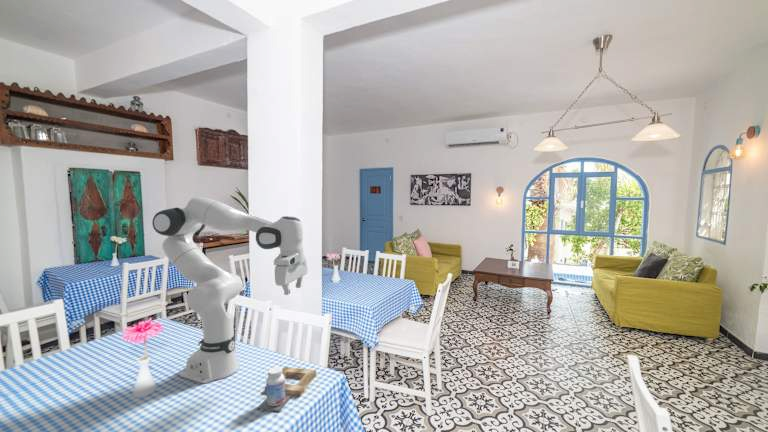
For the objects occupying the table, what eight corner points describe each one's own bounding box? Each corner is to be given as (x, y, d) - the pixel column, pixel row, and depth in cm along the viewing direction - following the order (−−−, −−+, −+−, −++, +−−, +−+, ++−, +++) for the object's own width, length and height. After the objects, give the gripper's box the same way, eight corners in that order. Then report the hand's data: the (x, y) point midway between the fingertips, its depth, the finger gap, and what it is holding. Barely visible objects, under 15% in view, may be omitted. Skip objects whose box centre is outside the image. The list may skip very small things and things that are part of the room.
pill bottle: (279, 408, 105) (278, 375, 104) (263, 406, 106) (262, 374, 106) (288, 397, 111) (287, 366, 110) (273, 395, 112) (272, 364, 111)
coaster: (257, 409, 105) (257, 407, 105) (270, 394, 113) (270, 393, 113) (279, 412, 104) (279, 410, 104) (291, 397, 112) (291, 395, 112)
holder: (265, 392, 115) (264, 387, 115) (284, 371, 128) (284, 366, 128) (300, 396, 112) (300, 391, 112) (316, 374, 126) (316, 370, 126)
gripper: (297, 252, 136) (297, 283, 136) (271, 261, 116) (272, 298, 116) (310, 252, 134) (311, 284, 135) (286, 262, 114) (287, 299, 115)
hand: (293, 290), depth 126 cm, fingers open, 8 cm apart
